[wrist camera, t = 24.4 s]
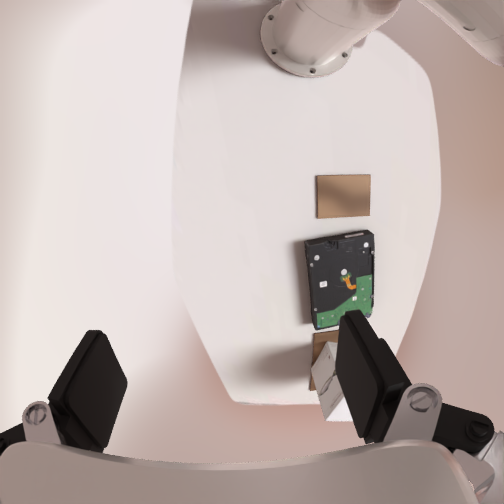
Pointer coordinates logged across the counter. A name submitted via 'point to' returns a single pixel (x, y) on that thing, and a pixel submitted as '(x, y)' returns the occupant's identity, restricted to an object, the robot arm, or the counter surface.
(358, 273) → the disk drive
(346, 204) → the flat brown wooden pieces
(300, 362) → the counter surface
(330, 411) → the supplement box
